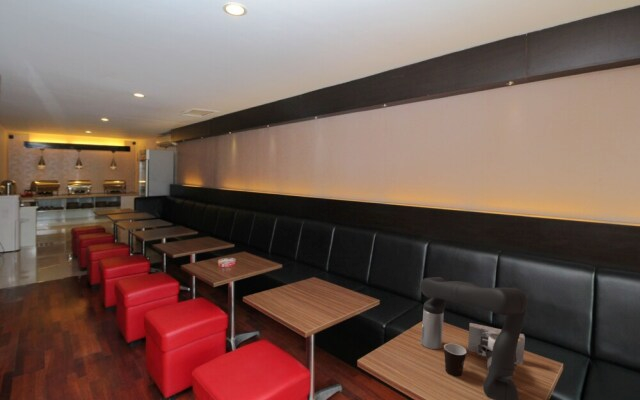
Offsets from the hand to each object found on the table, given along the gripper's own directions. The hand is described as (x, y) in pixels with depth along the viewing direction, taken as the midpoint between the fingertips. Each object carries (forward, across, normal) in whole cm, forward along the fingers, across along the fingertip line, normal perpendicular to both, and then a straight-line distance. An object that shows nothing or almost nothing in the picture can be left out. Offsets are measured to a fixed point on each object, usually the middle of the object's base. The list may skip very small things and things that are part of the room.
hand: (495, 346), depth 137 cm
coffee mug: (-16, +15, +7) cm, 23 cm away
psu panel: (+6, 0, +7) cm, 9 cm away
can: (-1, 0, +7) cm, 7 cm away
